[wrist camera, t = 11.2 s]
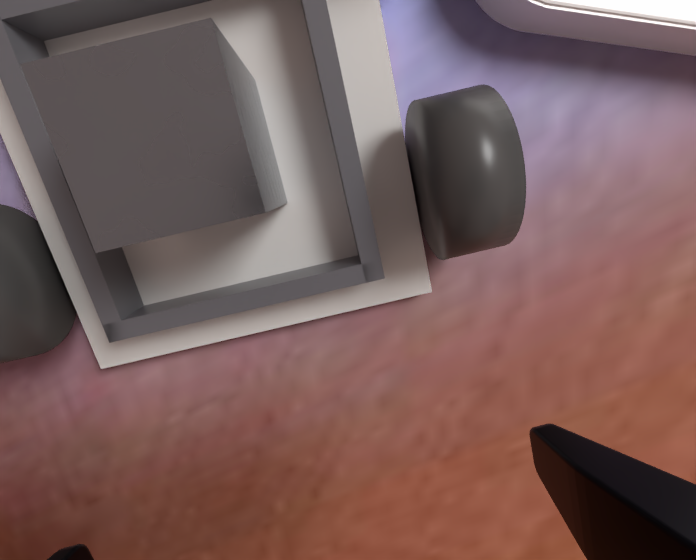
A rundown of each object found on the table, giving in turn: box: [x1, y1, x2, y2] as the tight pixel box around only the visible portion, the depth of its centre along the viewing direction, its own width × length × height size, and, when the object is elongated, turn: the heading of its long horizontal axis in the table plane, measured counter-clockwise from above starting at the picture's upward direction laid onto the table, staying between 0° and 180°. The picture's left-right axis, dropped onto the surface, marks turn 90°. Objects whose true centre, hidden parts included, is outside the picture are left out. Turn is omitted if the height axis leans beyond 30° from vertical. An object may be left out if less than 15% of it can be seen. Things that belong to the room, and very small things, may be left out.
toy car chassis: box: [0, 0, 526, 369], centre depth 14 cm, size 21×22×6 cm
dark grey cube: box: [20, 18, 288, 253], centre depth 13 cm, size 5×5×6 cm
